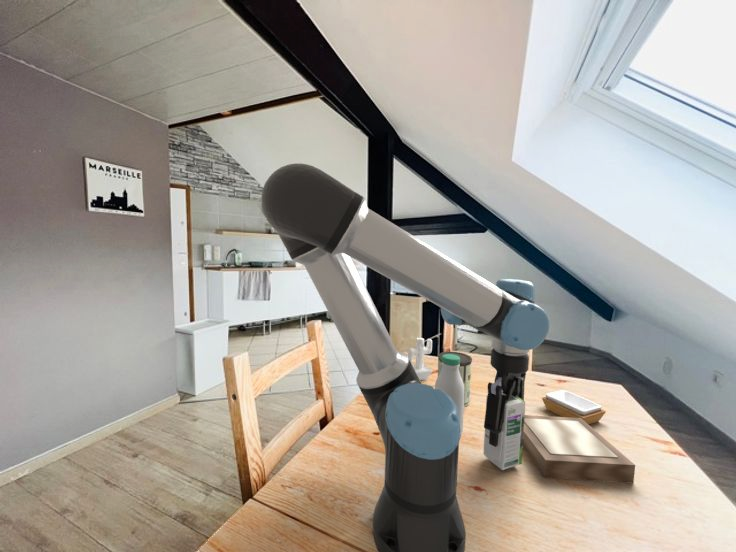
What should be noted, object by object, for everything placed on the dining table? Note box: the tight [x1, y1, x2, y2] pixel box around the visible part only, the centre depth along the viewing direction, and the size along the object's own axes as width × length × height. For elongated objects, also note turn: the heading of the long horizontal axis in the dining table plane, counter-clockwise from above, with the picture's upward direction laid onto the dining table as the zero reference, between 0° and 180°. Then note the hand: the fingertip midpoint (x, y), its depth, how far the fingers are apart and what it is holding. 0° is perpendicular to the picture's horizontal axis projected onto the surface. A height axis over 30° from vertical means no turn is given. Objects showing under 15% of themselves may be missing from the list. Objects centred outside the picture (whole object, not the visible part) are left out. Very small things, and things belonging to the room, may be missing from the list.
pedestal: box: [522, 414, 636, 484], centre depth 74 cm, size 18×18×4 cm
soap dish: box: [541, 389, 607, 425], centre depth 91 cm, size 12×10×5 cm
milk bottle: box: [434, 354, 465, 436], centre depth 81 cm, size 8×8×20 cm
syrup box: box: [483, 393, 526, 471], centre depth 69 cm, size 6×6×14 cm
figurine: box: [407, 337, 434, 381], centre depth 115 cm, size 7×9×15 cm
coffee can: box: [437, 351, 473, 408], centre depth 98 cm, size 10×10×14 cm
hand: (502, 450), depth 70 cm, fingers closed on syrup box, 7 cm apart
